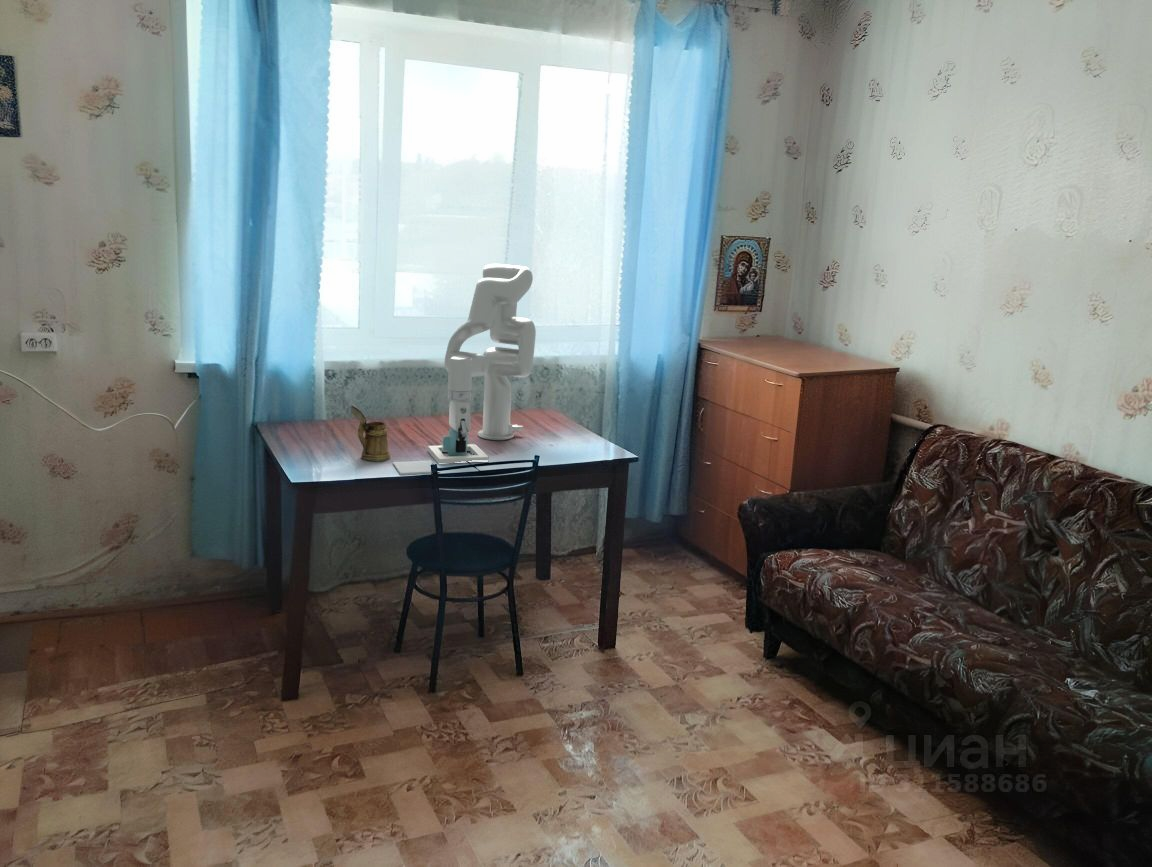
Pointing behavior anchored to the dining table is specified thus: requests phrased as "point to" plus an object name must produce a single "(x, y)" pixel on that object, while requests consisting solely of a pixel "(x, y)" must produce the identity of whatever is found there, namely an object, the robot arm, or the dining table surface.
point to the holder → (440, 458)
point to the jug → (453, 443)
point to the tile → (413, 467)
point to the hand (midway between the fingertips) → (457, 449)
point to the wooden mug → (372, 438)
